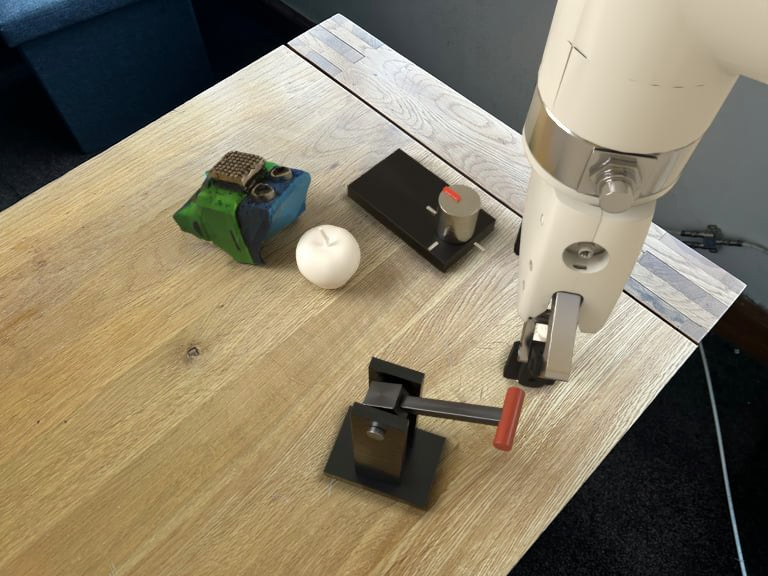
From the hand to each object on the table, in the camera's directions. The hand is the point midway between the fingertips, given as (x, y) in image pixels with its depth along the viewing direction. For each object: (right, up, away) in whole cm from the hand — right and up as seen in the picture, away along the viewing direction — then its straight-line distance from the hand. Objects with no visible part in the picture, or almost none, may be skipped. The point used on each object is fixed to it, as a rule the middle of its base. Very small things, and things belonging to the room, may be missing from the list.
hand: (531, 312), depth 44 cm
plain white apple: (-16, +3, +31) cm, 35 cm away
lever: (-5, -8, +6) cm, 11 cm away
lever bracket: (-10, -15, +19) cm, 26 cm away
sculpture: (-26, +9, +34) cm, 44 cm away
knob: (-2, +9, +32) cm, 33 cm away
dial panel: (-6, +11, +36) cm, 38 cm away
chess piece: (+6, -7, +25) cm, 26 cm away
